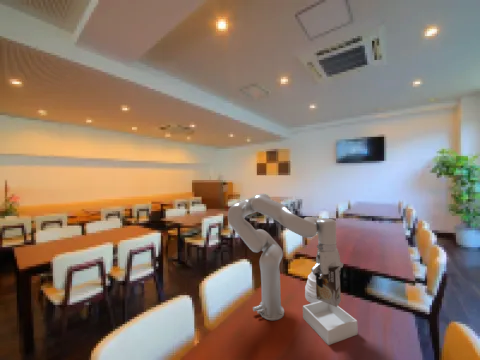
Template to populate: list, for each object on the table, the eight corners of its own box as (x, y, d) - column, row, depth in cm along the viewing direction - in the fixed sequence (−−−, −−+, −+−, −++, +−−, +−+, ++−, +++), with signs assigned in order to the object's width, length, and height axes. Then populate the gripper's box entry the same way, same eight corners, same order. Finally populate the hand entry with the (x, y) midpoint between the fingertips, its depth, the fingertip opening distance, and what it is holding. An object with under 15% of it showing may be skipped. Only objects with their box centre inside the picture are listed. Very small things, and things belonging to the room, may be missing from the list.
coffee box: (341, 300, 91) (340, 265, 90) (336, 307, 86) (335, 270, 86) (321, 292, 97) (320, 259, 96) (315, 299, 92) (314, 264, 92)
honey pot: (328, 308, 103) (327, 274, 103) (302, 301, 110) (301, 268, 110) (331, 295, 114) (330, 264, 114) (308, 289, 121) (307, 259, 121)
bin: (328, 345, 81) (328, 330, 81) (303, 318, 97) (302, 305, 97) (357, 334, 86) (357, 320, 86) (329, 310, 102) (328, 298, 102)
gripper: (317, 252, 85) (318, 292, 85) (349, 246, 90) (349, 284, 90) (305, 246, 92) (306, 283, 92) (336, 241, 97) (336, 276, 98)
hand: (328, 283), depth 91 cm, fingers closed on coffee box, 8 cm apart
